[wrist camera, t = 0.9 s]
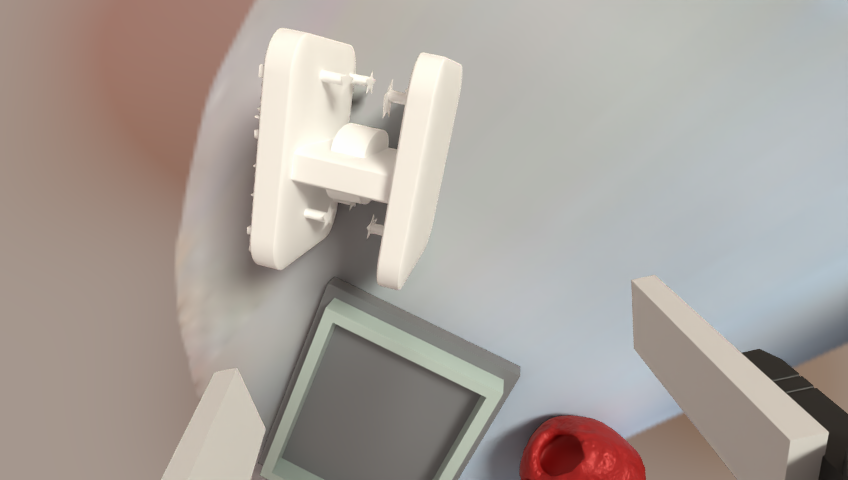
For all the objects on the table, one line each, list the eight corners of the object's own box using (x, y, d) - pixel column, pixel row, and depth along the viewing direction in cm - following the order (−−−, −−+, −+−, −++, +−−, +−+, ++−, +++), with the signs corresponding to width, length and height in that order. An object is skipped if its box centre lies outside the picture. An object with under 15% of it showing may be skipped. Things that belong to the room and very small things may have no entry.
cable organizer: (429, 253, 40) (395, 313, 29) (311, 224, 41) (236, 271, 31) (468, 67, 35) (445, 55, 24) (333, 39, 37) (254, 17, 26)
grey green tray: (519, 366, 42) (520, 389, 38) (421, 531, 49) (414, 563, 46) (334, 276, 42) (318, 292, 39) (265, 452, 50) (247, 477, 47)
